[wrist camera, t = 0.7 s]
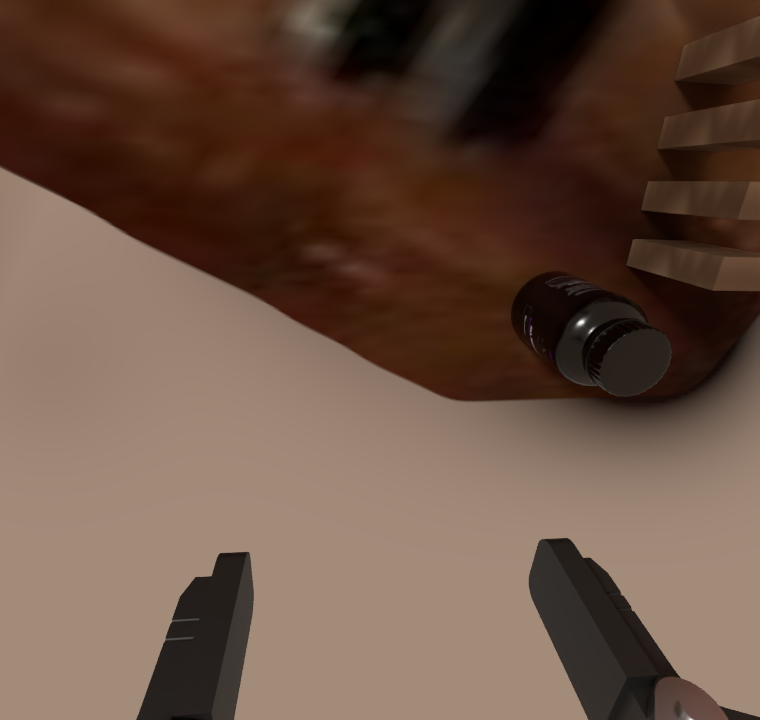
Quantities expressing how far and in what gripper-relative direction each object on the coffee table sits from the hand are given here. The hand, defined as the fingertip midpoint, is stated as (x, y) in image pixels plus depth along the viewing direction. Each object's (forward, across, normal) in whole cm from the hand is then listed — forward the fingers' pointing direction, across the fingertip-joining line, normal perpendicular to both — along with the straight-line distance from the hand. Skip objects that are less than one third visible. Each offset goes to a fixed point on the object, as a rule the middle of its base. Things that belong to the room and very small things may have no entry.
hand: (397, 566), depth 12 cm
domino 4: (+26, -26, -5) cm, 37 cm away
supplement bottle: (+26, -17, 0) cm, 31 cm away
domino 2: (+26, -26, -14) cm, 39 cm away
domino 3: (+26, -26, -9) cm, 38 cm away
